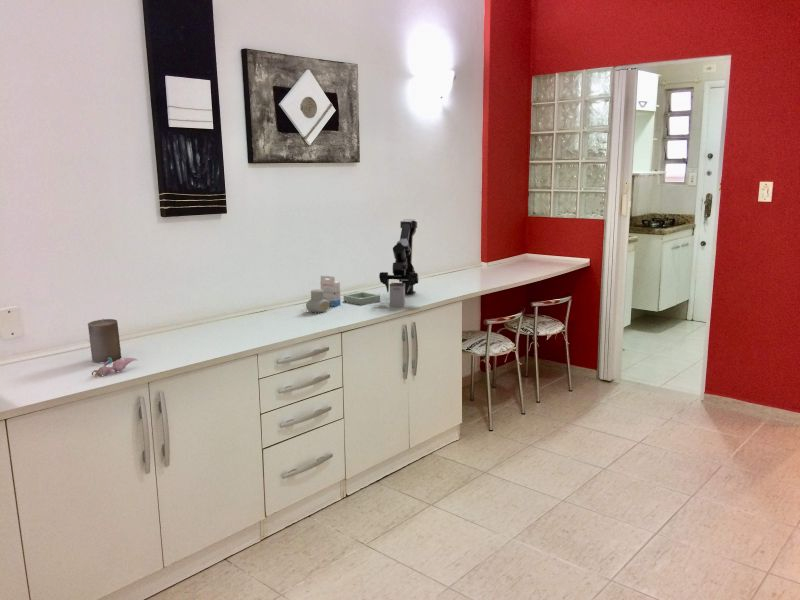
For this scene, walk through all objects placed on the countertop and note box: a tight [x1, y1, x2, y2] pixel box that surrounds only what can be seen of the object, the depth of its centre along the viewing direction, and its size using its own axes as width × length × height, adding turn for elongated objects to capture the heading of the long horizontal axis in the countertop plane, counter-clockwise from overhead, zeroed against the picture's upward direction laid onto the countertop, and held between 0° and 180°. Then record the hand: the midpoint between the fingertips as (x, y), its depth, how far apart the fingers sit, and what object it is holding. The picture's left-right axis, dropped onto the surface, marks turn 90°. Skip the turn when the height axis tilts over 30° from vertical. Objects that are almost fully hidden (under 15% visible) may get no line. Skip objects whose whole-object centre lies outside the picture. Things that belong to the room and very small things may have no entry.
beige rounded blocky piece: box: [305, 289, 330, 314], centre depth 310 cm, size 11×8×10 cm
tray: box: [342, 291, 381, 306], centre depth 333 cm, size 13×13×3 cm
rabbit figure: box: [90, 357, 138, 378], centre depth 222 cm, size 6×6×15 cm
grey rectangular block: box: [389, 282, 406, 308], centre depth 320 cm, size 6×7×11 cm
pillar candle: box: [87, 318, 122, 363], centre depth 235 cm, size 10×10×15 cm
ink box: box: [319, 275, 342, 307], centre depth 323 cm, size 8×5×15 cm, turn 62°
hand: (397, 292), depth 319 cm, fingers open, 9 cm apart
